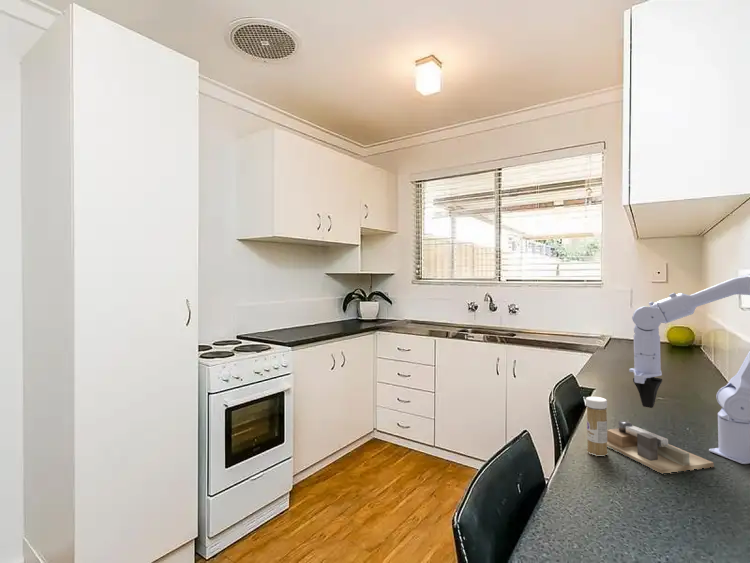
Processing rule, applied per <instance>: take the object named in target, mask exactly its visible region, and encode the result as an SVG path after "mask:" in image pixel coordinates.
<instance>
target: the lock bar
mask: <svg viewBox="0 0 750 563" xmlns="http://www.w3.org/2000/svg"><path fill="white" fill-rule="evenodd" d="M618 428H619V431H622V432H626V433H628V434H631V435H633V436H636V437H637V433H647V434H649V435H652V436H654V437H657V446H660V447H666V446H668V444H669V439H668V438H666V437H664V436H661V435H658V434H656V433H654V432H651V431H649V430H647V429H644V428H640V427H638V426H635V425H633V422H632V421H628V420H618Z"/></svg>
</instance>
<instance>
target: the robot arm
mask: <svg viewBox="0 0 750 563" xmlns="http://www.w3.org/2000/svg"><path fill="white" fill-rule="evenodd" d="M734 295H741V296H743V295H744V296H750V273H749V274H748V273H747V274H743V275H739V276H736V277H732V278H729V279H727V280H725V281H722V282H719V283H717V284H715V285H712V286H709V287H707V288H705V289H704V288H703V289H702V290H699V291H697V292H694V293H691V294H686V293H683V292H679V293H675V292H672V293H669V294H668V296H669V297H666V298H662V299H659V300H658V301H655V302H654V301H649V302H648V305H649V306H645V305H644V306H639V307H638V308H636V309H635V310H634V311H633V315H632V317H631V319H632V322H633V323H634V327H633V333H634V334H633V355H634V356H633V360H634V361H633V365H634V366H633V367H632V368H629V369H628V372H629V373H633V376H634V377H633V378H632V380H633V381H632V382H633V384H634V385H635V386H636V389H637V391H638V394H639V397H640V398H639V399H640V401H641V405H642V407H644V408H649V409H650V408H651V409H653V408H654V407H655V403H656V399H657V393H658V391H659V388H660V387H661V384H662V382H663V378H660V376H662V375H663V373H662V369H661V368H662V365H661V362H662V361H661V357H662V356H661V336H660V332H659V331H660V328H659V327H660V326H661V325H662V324H668V323H671V322H673V321H678V320H679V319H682V318H685V317H688V316H691V315H693V314H694V313H695V311H696V310H697V307H701V306H703V305H706V304H710V303H713V302H715V301H719V300H722V299H725V298H729V297H731V296H732V297H733V296H734ZM716 401H717V403H718V405H719V406H720V407H721V409H720V410H719V411H718V412H717V430H718V431H717V436H718V438H717V439H718V444H717V445H718V447H715V448H709V449H708V451H709V452H711V453H714V454H716V455H718V456H721V457H723V458H726V459H729V460H731V461H734V462H736V463H739V464H742V465H748V464H750V350H749V351H748V353H747V354H746V356H745V358H744V359H743V362H742V364H741V365H740V367H739V369H738V371H737V372H736V374H735V375H734V376H732V377H731V378H730V379H729V380H728V382H727V384H726V385H724V386H722V387H721V388H719V389H718V391H717V392H716Z"/></svg>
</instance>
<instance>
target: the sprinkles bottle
mask: <svg viewBox="0 0 750 563" xmlns="http://www.w3.org/2000/svg"><path fill="white" fill-rule="evenodd" d="M585 406H586V414H587V416H586V417H587V419H586V438H587V449H586V450H587V451H588V452H590V453H593V454H596V455H606V454H607V453H608V448H607V430H608V418H607V416H608V415H607V408H608V400H607V399H606V398H604V397H600V396H587V397H586V398H585ZM587 451H586V452H587ZM588 452H587V453H588ZM608 454H609V453H608Z"/></svg>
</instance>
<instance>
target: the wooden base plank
mask: <svg viewBox="0 0 750 563" xmlns="http://www.w3.org/2000/svg"><path fill="white" fill-rule="evenodd" d="M607 446H609V447H611V448H613V449H614V450H617V451H619V452H621V453H622V454H624V455H626V456H628V457H630V458H632V459H634V460H636V461H638V462H640V463H642V464H644V465H646V466H648V467H650V468H652V469H653V470H655V471H657V472H660V473H662V474H663V473H670V474H672V473H671V472H677V473H679V472H678V471H684V472H687V471H686V470H690V471H695V470H694V469H697V470H702V468H704V469H710V467H711V468H714V467H715V465H714V461H711V460H708V459H706V458H704V457H701V456H699V455H697V454H694V453H691V452H689V451H686V450H684V449H682V448H679V447H676V446H674V445H672V444H669V443H668V446H666V447H660V446H657V437H654V436H652V435H649V434H647V433H637V437H636V436H633V435H631V434H628V433H626V432H622V431H619V427H618V428H611V429H608V428H607ZM653 470H652V471H653ZM655 471H654V472H655ZM657 472H656V473H657Z"/></svg>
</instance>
